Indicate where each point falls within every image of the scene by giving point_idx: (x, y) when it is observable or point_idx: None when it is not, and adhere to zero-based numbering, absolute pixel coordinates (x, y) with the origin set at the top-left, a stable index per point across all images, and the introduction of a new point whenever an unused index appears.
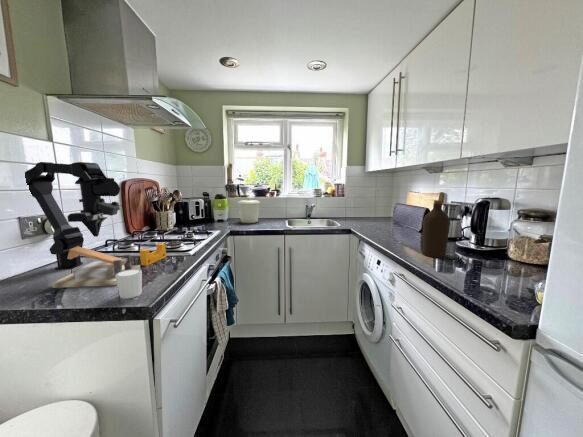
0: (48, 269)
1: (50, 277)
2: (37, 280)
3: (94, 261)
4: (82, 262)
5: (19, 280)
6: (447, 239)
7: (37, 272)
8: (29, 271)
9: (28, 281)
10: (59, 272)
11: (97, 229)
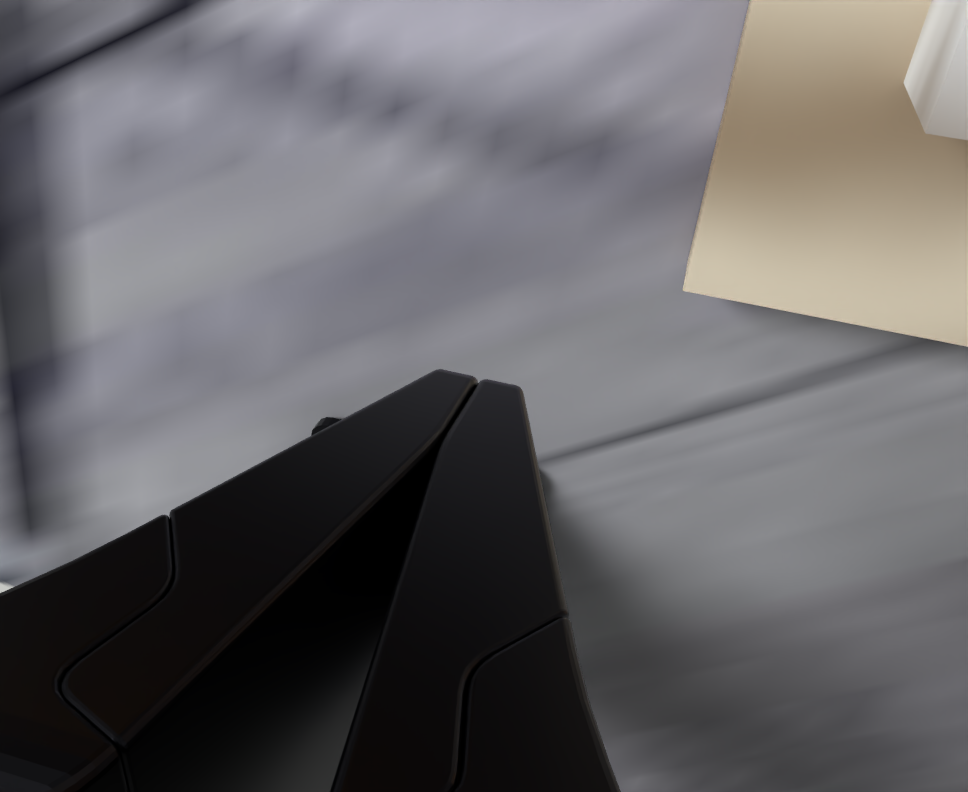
0: None
1: (842, 569)
2: (908, 648)
3: (950, 101)
4: (324, 426)
5: (815, 771)
6: None
7: None
8: None
9: (901, 705)
10: (651, 542)
11: (453, 537)
